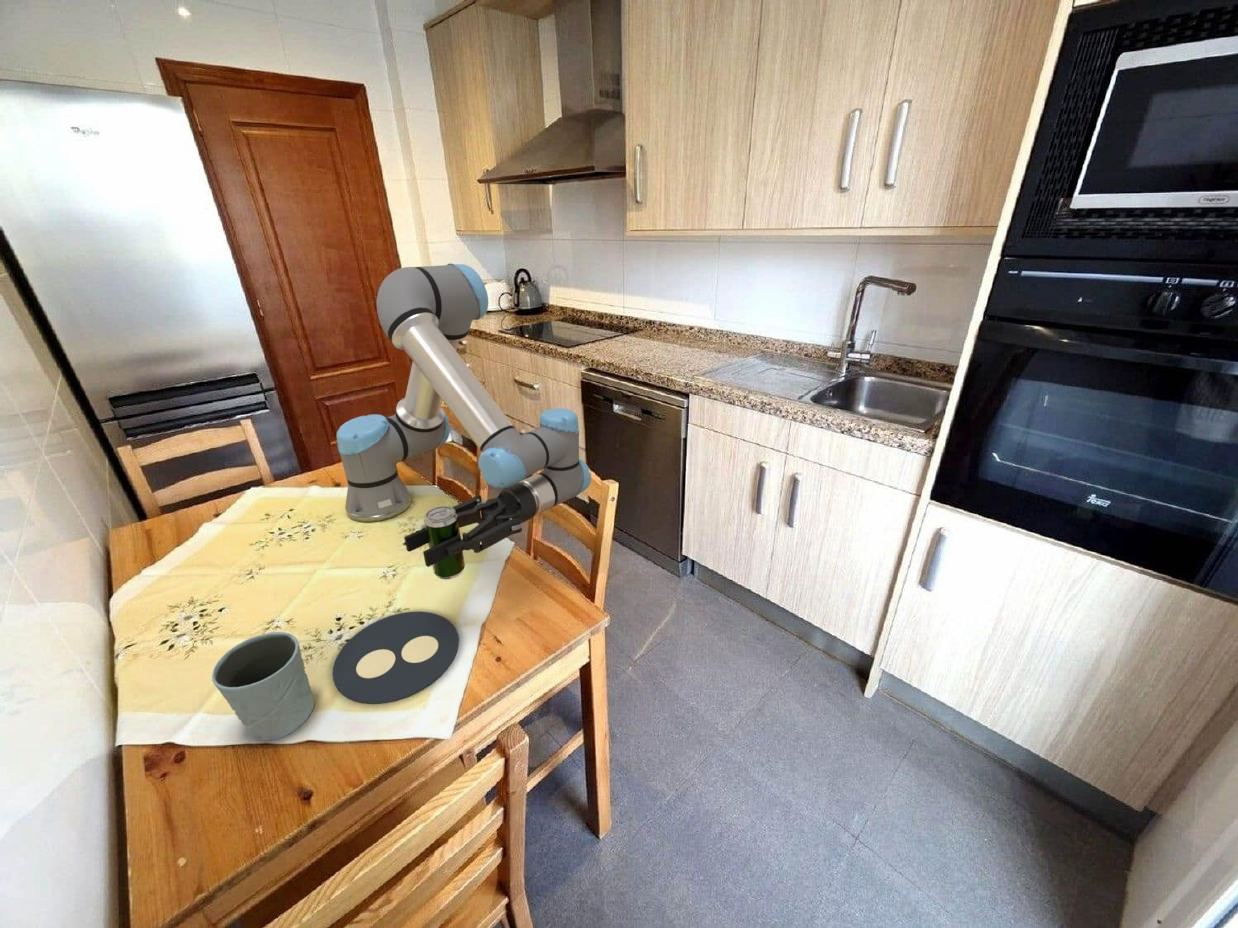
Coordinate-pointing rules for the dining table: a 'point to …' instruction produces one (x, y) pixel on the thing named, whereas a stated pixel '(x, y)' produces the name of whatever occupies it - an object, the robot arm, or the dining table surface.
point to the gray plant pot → (266, 685)
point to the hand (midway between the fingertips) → (416, 551)
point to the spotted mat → (395, 657)
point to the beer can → (444, 539)
